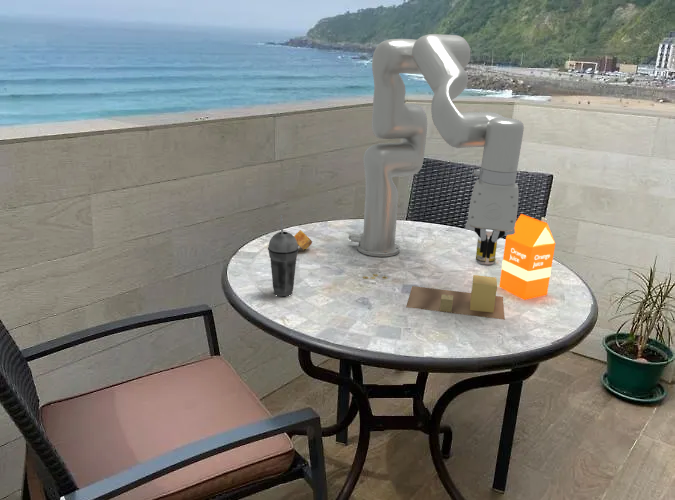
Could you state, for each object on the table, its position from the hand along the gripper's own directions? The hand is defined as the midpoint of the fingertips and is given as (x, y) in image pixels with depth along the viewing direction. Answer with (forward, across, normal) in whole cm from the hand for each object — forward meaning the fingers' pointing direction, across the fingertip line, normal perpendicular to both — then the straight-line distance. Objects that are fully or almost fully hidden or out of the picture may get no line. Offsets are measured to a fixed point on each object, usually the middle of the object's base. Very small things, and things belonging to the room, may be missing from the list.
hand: (485, 255), depth 133 cm
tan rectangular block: (+12, +1, -1) cm, 12 cm away
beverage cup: (+15, -46, -5) cm, 49 cm away
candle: (+14, +16, +32) cm, 38 cm away
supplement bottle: (+14, +2, +34) cm, 37 cm away
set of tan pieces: (+15, -26, +9) cm, 31 cm away
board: (+14, -5, 0) cm, 15 cm away
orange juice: (+14, +11, +12) cm, 21 cm away
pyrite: (+15, -51, +26) cm, 60 cm away
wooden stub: (+12, -7, -5) cm, 15 cm away
